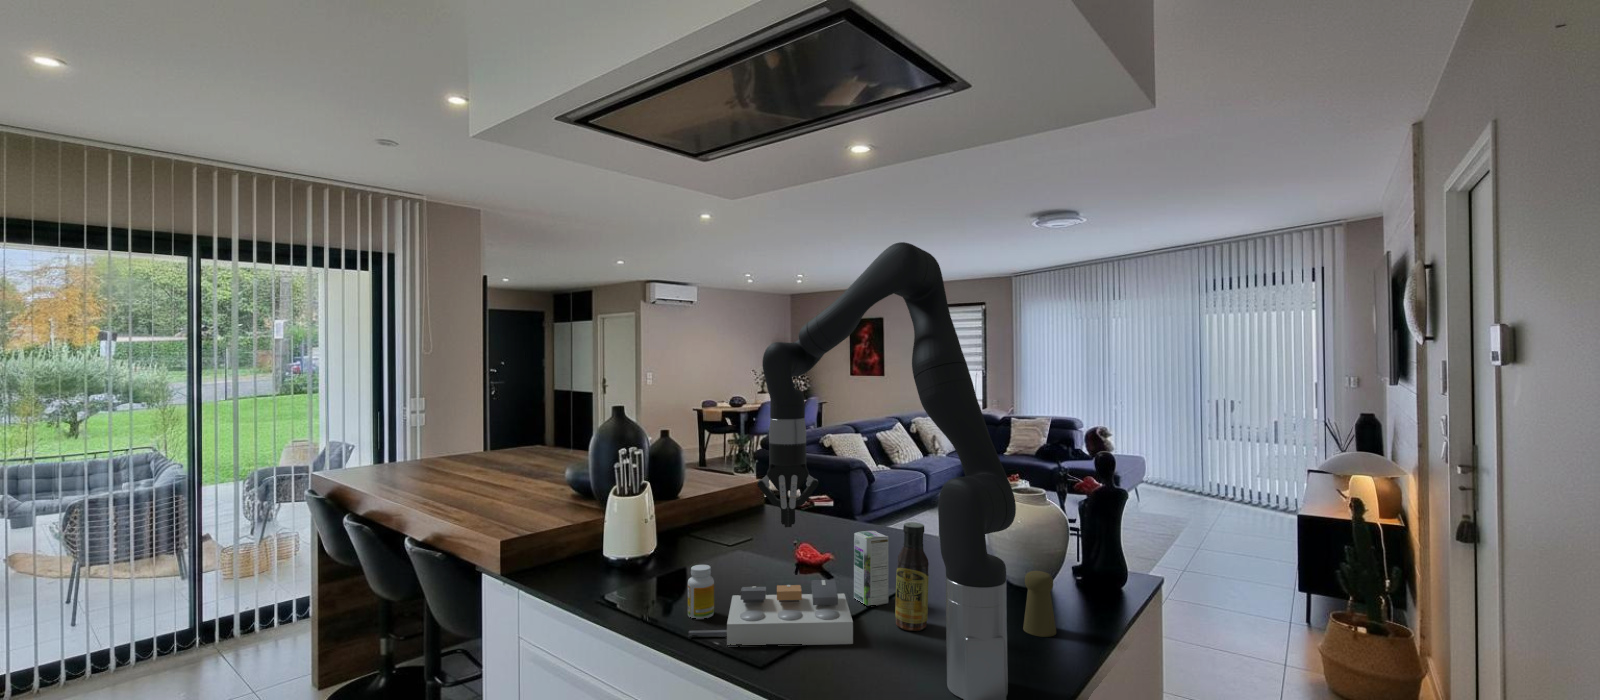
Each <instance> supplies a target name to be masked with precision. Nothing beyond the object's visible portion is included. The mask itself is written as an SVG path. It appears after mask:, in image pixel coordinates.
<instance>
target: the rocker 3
mask: <svg viewBox="0 0 1600 700" xmlns="http://www.w3.org/2000/svg"><path fill="white" fill-rule="evenodd" d="M810 583H811V585H810V588H811V594H812V599H813V605H838V595H837V594H838V589H837V583H836V579H812V580H811V581H810Z"/></svg>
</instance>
